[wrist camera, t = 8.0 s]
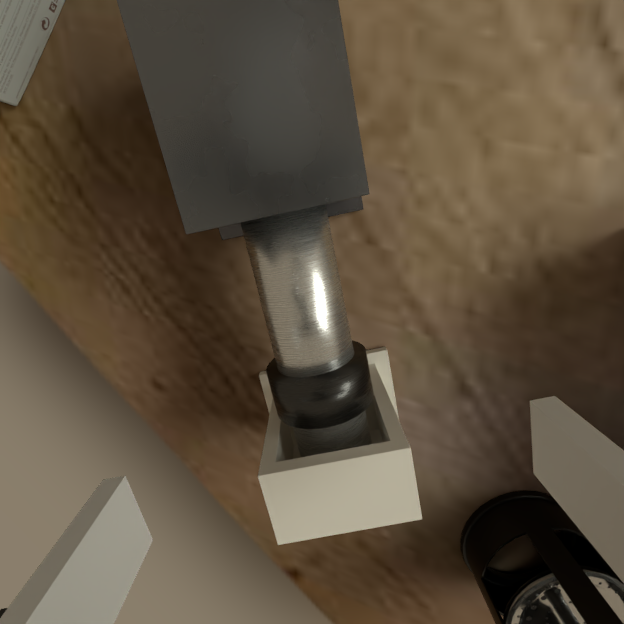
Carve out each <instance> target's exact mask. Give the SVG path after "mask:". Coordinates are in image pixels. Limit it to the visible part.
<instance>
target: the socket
mask: <svg viewBox="0 0 624 624" xmlns="http://www.w3.org/2000/svg"><path fill="white" fill-rule="evenodd" d="M366 354H367V359H368V365H369V370H370V376H371V381H372V386H373V392H374V397H373V401H372V402H371V404H370V405H369V407H368V408H367V409H366V410H365V411H366V416H367V421H368V426H369V431H370V437H371V442H372V444H370V445H365V446H360V447H354V448H349V449H344V450H338V451H333V452H328V453H322V454H317V455H312V456H306V457H300V453H299V449H298V446H297V442H296V438H295V434H294V430H293V427H292V426H289V425H287V424H285V423H284V422H282V421H281V420H280V419H279V417H278V414H277V410H276V407H275V403H274V399H273V395H272V392H271V388H270V384H269V380H268V377H267V373H266V371H262V372H260V373H259V378H260V382H261V385H262V389H263V393H264V396H265V400H266V404H267V407H268V411H269V420H268V426H267V431H266V436H265V441H264V447H263V452H262V457H261V462H260V468H259V473H258V478H259V482H260V485H261V488H262V492H263V495H264V499H265V502H266V505H267V509H268V512H269V515H270V519H271V522H272V526H273V529H274V532H275V536H276V539H277V542H278V545H281V544H286V543H292V542H297V541H303V540H309V539H314V538H320V537H326V536H331V535H337V534H342V533H348V532H354V531H359V530H365V529H371V528H376V527H382V526H388V525H393V524H399V523H404V522H410V521H416V520H421V519H422V514H421V508H420V502H419V495H418V489H417V483H416V477H415V471H414V465H413V459H412V452H411V447H410V445H409V442H408V440H407V438H406V435H405V433H404V431H403V428H402V426H401V424H400V421H399V417H398V411H397V405H396V399H395V393H394V387H393V382H392V376H391V370H390V364H389V358H388V352H387V349H386V347H382V348H377V349H372V350H367V351H366Z"/></svg>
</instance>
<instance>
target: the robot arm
mask: <svg viewBox="0 0 624 624" xmlns="http://www.w3.org/2000/svg"><path fill="white" fill-rule="evenodd" d="M530 415H531V435H532V455H533V474H534V475H535V476H536V477H537V478H538V480H539V481H540V482H541V483H542V484H543V486H544V487H545V488H546V489H547V491H548V492H549V493H550V494H551V495H552V497H553V498H554V499H555V500H556V502H557V503H558V504H559V505H560V506H561V508H562V509H563V510H564V511H565V512H566V514H567V515H568V516H569V517H570V519H571V520H572V521H573V522H574V523H575V525H576V526H577V527H578V528H579V530H580V531H581V532H582V533H583V534H584V536H585V537H586V538H587V539H588V540H589V542H590V543H591V544H592V545H593V547H594V548H595V549H596V550H597V551H598V553H599V554H600V555H601V556H602V558H603V559H604V560H605V561H606V562H607V564H608V565H609V566H610V567H611V568H612V570H613V571H614V572H615V573H616V575H617V576H618V577H619V578H620V579H621V581H622V582H623V583H624V450H622V449H621V448H620V447H619V446H617V445H616V444H615V443H614V442H612V441H611V440H610V439H609V438H607V437H606V436H605V435H604V434H602V433H601V432H600V431H599V430H597V429H596V428H595V427H593V426H592V425H591V424H590V423H588V422H587V421H586V420H585V419H583V418H582V417H581V416H580V415H578V414H577V413H576V412H575V411H573V410H572V409H571V408H570V407H568V406H567V405H566V404H565V403H563V402H562V401H561V400H559V399H558V398H557V397H556V396H552V397H546V398H541V399H535V400H530ZM152 541H153V539H152V537H151V534H150V532H149V530H148V527H147V525H146V523H145V520H144V518H143V516H142V513H141V511H140V509H139V506H138V504H137V502H136V499H135V497H134V495H133V492H132V490H131V487H130V485H129V483H128V481H127V478H126V476H120V477H115V478H110V479H104V480H103V481H102V482H101V483H100V485H99V486H98V487H97V489H96V490H95V491H94V493H93V494H92V496H91V497H90V498H89V499H88V501H87V502H86V504H85V505H84V506H83V507H82V509H81V510H80V512H79V513H78V514H77V516H76V517H75V518H74V520H73V521H72V522H71V524H70V525H69V526H68V528H67V529H66V530H65V532H64V533H63V535H62V536H61V537H60V538H59V540H58V541H57V542H56V544H55V545H54V547H53V548H52V549H51V551H50V552H49V553H48V555H47V556H46V558H45V559H44V560H43V562H42V563H41V564H40V565H39V567H38V568H37V570H36V571H35V572H34V574H33V575H32V576H31V577H30V579H29V580H28V581H27V583H26V584H25V586H24V587H23V588H22V590H21V591H20V592H19V594H18V595H17V596H16V598H15V599H14V601H13V602H12V603H11V604H10V606H9V607H8V608H5V609H1V610H0V624H114V622H115V620H116V618H117V616H118V614H119V612H120V610H121V608H122V605H123V603H124V601H125V599H126V597H127V595H128V592H129V590H130V588H131V586H132V584H133V582H134V580H135V577H136V575H137V573H138V571H139V569H140V567H141V564H142V562H143V560H144V558H145V556H146V554H147V551H148V549H149V547H150V545H151V543H152Z"/></svg>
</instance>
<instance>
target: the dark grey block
mask: <svg viewBox="0 0 624 624" xmlns="http://www.w3.org/2000/svg"><path fill="white" fill-rule="evenodd" d="M117 3H118V6H119V9H120V13H121V16H122V19H123V23H124V26H125V30H126V33H127V36H128V40H129V43H130V46H131V50H132V53H133V57H134V60H135V63H136V67H137V70H138V73H139V77H140V80H141V84H142V87H143V90H144V94H145V97H146V100H147V104H148V107H149V111H150V114H151V117H152V121H153V124H154V127H155V131H156V134H157V138H158V141H159V144H160V148H161V151H162V154H163V158H164V161H165V165H166V168H167V171H168V175H169V178H170V181H171V185H172V188H173V192H174V195H175V198H176V202H177V205H178V208H179V212H180V215H181V219H182V222H183V225H184V229H185V232H186V234H191V233H196V232H201V231H205V230H210V229H215V228H219V231H220V235H221V238H222V240H224V239H229V238H234V237H238V236H243V231H242V227H241V222H245V221H250V220H255V219H259V218H264V217H268V216H273V215H277V214H282V213H286V212H291V211H295V210H300V209H304V208H309V207H314V206H318V205H323V204H325V205H326V210H327V215H328V217H330V216H334V215H339V214H344V213H348V212H353V211H357V210H362V209H363V204H362V198H361V196H364V195H368V194H369V188H368V182H367V176H366V170H365V164H364V158H363V151H362V145H361V139H360V133H359V127H358V121H357V115H356V108H355V102H354V96H353V90H352V84H351V78H350V72H349V65H348V59H347V53H346V47H345V41H344V35H343V29H342V22H341V16H340V10H339V4H338V0H117Z"/></svg>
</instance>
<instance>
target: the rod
mask: <svg viewBox="0 0 624 624" xmlns="http://www.w3.org/2000/svg"><path fill="white" fill-rule="evenodd" d="M241 227H242V231H243V235H244V239H245V243H246V246H247V250H248V254H249V258H250V262H251V266H252V270H253V274H254V278H255V282H256V286H257V289H258V293H259V297H260V301H261V305H262V309H263V313H264V317H265V321H266V325H267V328H268V332H269V336H270V340H271V344H272V348H273V352H274V356H275V358H274V359H273V360H272V361H271V362H270V363H269V365H268V366H267V369H266V373H267V377H268V380H269V384H270V388H271V392H272V395H273V399H274V403H275V407H276V410H277V414H278V417H279V419H280V420H281V421H282V422H284V423H285V424H287V425H289V426H292V427H293V430H294V434H295V438H296V442H297V446H298V449H299V453H300V457H306V456H312V455H317V454H322V453H328V452H333V451H338V450H344V449H349V448H354V447H360V446H365V445H370V444H372V442H371V437H370V431H369V426H368V421H367V416H366V411H365V410H366V409H367V408H368V407H369V405H370V404H371V402H372V401H373V397H374V392H373V386H372V381H371V376H370V370H369V365H368V359H367V354H366V349H365V347H364V346H363V345H362V344H360V343H358V342H356V341H352V339H351V334H350V329H349V323H348V318H347V313H346V308H345V303H344V298H343V292H342V287H341V282H340V277H339V272H338V267H337V262H336V256H335V251H334V246H333V241H332V236H331V231H330V226H329V220H328V215H327V210H326V205H325V204H323V205H318V206H314V207H309V208H304V209H300V210H295V211H291V212H286V213H282V214H277V215H273V216H268V217H264V218H259V219H255V220H250V221H245V222H241Z"/></svg>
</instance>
